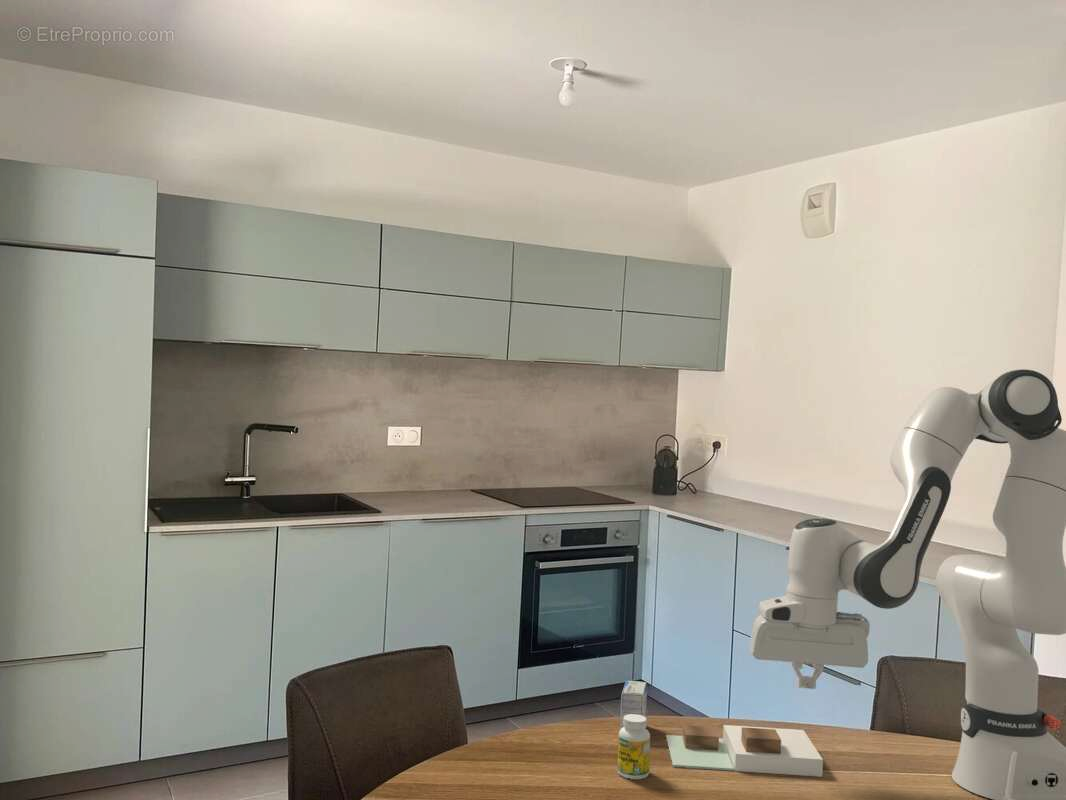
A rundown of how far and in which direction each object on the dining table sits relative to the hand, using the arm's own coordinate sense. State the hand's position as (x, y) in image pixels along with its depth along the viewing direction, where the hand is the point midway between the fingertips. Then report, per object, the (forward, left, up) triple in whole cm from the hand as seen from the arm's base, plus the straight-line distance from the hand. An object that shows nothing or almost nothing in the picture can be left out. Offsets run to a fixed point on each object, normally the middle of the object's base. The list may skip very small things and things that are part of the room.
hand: (806, 687), depth 158 cm
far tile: (+17, -7, -14) cm, 23 cm away
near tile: (+8, 0, -11) cm, 13 cm away
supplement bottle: (+31, +8, -14) cm, 35 cm away
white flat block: (+5, -3, -14) cm, 15 cm away
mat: (+18, -3, -14) cm, 23 cm away
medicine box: (+30, -12, -15) cm, 35 cm away
